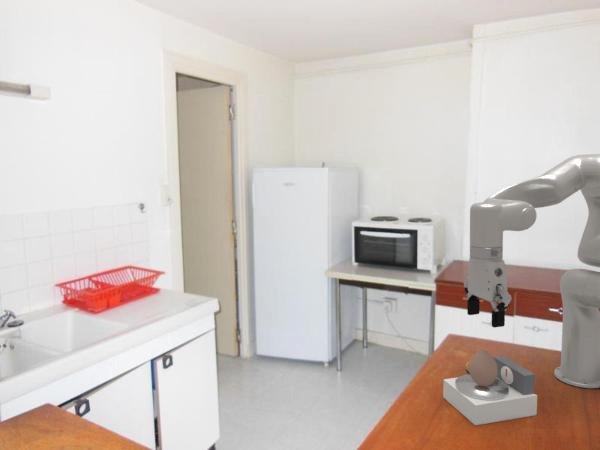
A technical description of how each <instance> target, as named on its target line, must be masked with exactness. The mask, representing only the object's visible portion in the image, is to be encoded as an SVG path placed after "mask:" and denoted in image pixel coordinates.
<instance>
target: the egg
mask: <svg viewBox="0 0 600 450" xmlns="http://www.w3.org/2000/svg"><path fill="white" fill-rule="evenodd" d="M493 357H494V355H492V354H491V353H490V352H489V351H487V350H486V349H485V350H483V349H482V350H478V351H476V352H475V353H474V354H473V355H472V357H471V359H470V360H471V361H470V360H469V361H470V365H469V371H468V373H469V374H470V376H471V378H472V379H473V381H474V382H475V383H476V384H478V385H480V386H483V387H484V386H489V385H491V384H492V383H493V382H494V381H495V380H496V378H497V372H498V371H497V364H496V362H495V359H494V358H493Z"/></svg>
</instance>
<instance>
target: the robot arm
mask: <svg viewBox="0 0 600 450" xmlns="http://www.w3.org/2000/svg"><path fill="white" fill-rule="evenodd" d="M578 191H581V194H582V196H583V198H584V200H585V202H586V205H587V209H588V217H587V221H586V224H585V226H584V229H583V232H582V235H581V238H580V240H579V241H580V242H579V244H578V248H577V258H578V260H579V262H581V264H582V263H583V264H585V265H587V266H591V267H595V268H599V269H600V153H597V154H596V153H593V154H592V153H590V154H578V155H573V156H570V157H568V158H566V159H564V160H563V161H561V162H560V163H559V164H556V165H555V166H553V167H552V168H551V169H549V170H547V171H545V172H544V173H543V174H540V175H539V176H536V177H533V178H530V179H527V180H524V181H521V182H517V183H515V184H513V185H510V186H506V187H504V188H503V189H499V191H497V192H495V193H493V194H491V195H490V196H489V197H487V198H485V200H484V201H483V202H475V203H473V204H472V205H471V206H470V209H469V260H468V267H467V278H464V279H463V280H462V282H463V287H464V292H465V294H466V296H465V298H466V300H467V306H466V307H467V310H466V311H467V315H468V316H474V315H475V316H476V315H479V314H480V306H481V305H480V299H482V300H484V301H487V302H489V303H490V305H491V307H492V309H493V310H491V327H493V328H500V327H505V321H506V320H505V319H506V318H505V317H506V311H507V309H508V308H509V307H510V303H511V301H512V295H511V294H510V293H509V292H508V276H507V268H506V263H505V260H504V259H503V257H504V256H503V255H504V253H503V249H504V248H503V247H504V232H506V231H511V232H523V231H526V230H528V229H530V228H532V226H533V225H534V224H535V223H536V221H537V217H538V216H537V215H538V214H537V210H536V209H539V208H546V207H547V208H548V207H551V206H556V205H558V204H560V203H563V201H565V200H567V199H568V198H570V197H571V196H573V195H574V194H575V193H576V192H577V193H578ZM559 289H560V290H559V291H560V296H561V301H562V326H561V328H562V329H561V332H562V333H561V352H560V353H561V354H560V366H557V367H556V368H555V369H554V373H553V374H554V377H556V378H557V379H558V380H559V381H560V382H563V383H564V384H567V385H570V386H573V387H577V388H582V389H583V388H584V389H599V388H600V271H596V270H590V269H586V268H572V269H571V268H570V269H568V270H567V271H565V272H564V273H563V274H562V275H561V278H560V281H559ZM497 302H498V304H497Z"/></svg>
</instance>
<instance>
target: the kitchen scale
mask: <svg viewBox="0 0 600 450" xmlns="http://www.w3.org/2000/svg"><path fill="white" fill-rule="evenodd" d="M493 358H494V359H495V362H496V364H497V371H498V372H497V378H496V379H499V380H501V381H502V382H504V383H505V384H506V385H507V386H508V388H509V394H508V396H507V397H506V398H504V399H501V400H494V401H487V400H479V399H475V398H471V397H468V396H466V395H464V394H462V393H461V392H459V391H458V390H457V389H456V387H455V381H456V379H457V378H458V377H459V376H458V377H450V378H444V379H443V386H442V387H443V392H442V394H443V396H442V397H443V399H444V400H446V401H447V402H448V403H449V404H451V406H453V408H455V409H456V410H457V411H458V412H459V413H461V415H463V416H464V417H465V418H466V419H467V420H469V422H470V423H472V424H473V425H474V426H481V425H485V424H491V423H497V422H502V421H503V422H504V421H509V420H510V421H511V420H514V419H521V418H526V417H527V418H529V417H533V416H537V415H538V414H537V413H538V411H537V410H538V395H537V394H535V384H536V380H535V379H536V374H535V373H533V372H532V371H531V370H528V369H527V368H526V367H523V366H522V365H520V364H518V363H516V362H515V361H513V360H511V359H510V358H509V357H506V356H505V355H496V356H494V355H493Z"/></svg>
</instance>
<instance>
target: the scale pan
mask: <svg viewBox="0 0 600 450" xmlns="http://www.w3.org/2000/svg"><path fill="white" fill-rule="evenodd" d="M456 378H457V377H456ZM455 387H456V389H457V390H458V391H459V392H461V393H462V394H464V395H466V396H468V397H471V398H475V399H479V400H487V401H494V400H501V399H504V398H506V397H507V396H508V394H509V388H508V386H507V385H506V384H505V383H504V382H502V381H501V380H499V379H496V380H495V381H494V382H493V383H492V384H491V385H489V386H484V387H483V386H480V385H478V384H476V383H475V382H474V381H473V379H472V378H471V376H470V373H469V374H463V375H461V376H458V378H457V379H456V381H455Z"/></svg>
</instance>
